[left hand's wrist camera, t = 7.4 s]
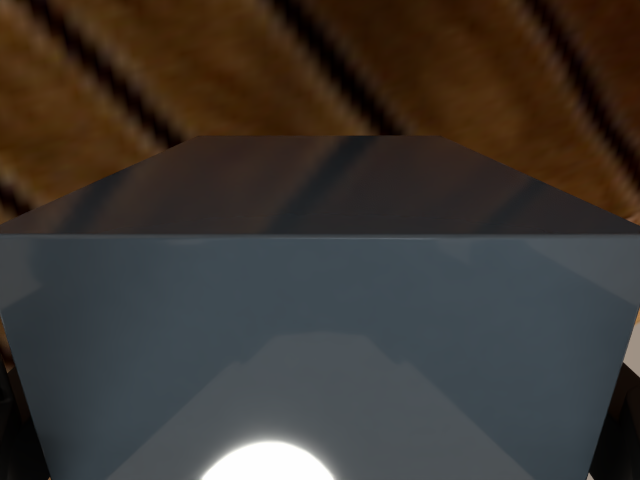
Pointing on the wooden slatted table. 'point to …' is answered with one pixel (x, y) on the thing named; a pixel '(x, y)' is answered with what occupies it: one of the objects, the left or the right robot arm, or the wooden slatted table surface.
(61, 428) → the block
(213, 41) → the wooden slatted table surface
